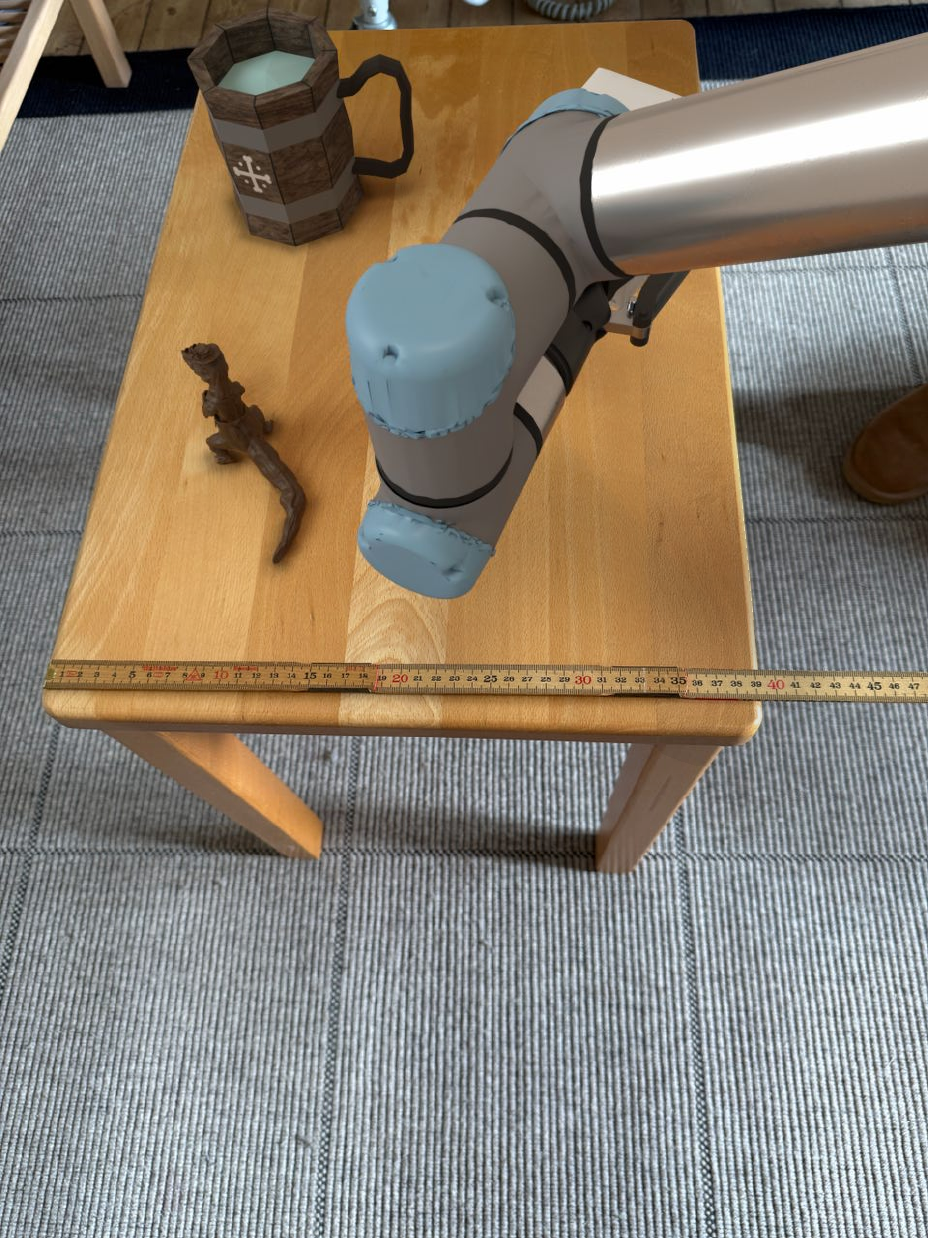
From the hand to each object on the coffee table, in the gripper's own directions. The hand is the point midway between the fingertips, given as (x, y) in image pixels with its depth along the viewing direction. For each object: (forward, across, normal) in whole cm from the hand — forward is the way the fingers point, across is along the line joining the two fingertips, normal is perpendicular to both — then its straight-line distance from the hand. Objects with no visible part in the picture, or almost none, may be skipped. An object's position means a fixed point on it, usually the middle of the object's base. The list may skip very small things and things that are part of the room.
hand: (635, 137), depth 63 cm
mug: (+7, -33, -20) cm, 39 cm away
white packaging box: (-5, 0, -8) cm, 9 cm away
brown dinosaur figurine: (-27, -23, -20) cm, 41 cm away
